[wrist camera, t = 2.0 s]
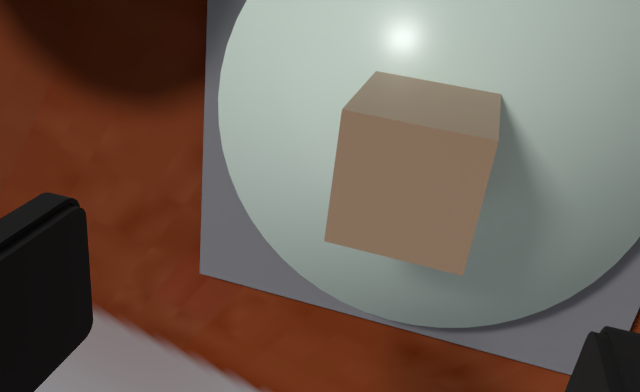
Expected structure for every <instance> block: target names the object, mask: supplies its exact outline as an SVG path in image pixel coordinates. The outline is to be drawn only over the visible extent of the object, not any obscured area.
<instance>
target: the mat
mask: <svg viewBox="0 0 640 392" xmlns="http://www.w3.org/2000/svg"><path fill="white" fill-rule="evenodd" d="M246 1H247V0H207V35H206V70H205V105H204V140H203V176H202V211H201V246H200V274H204V275H207V276H211V277H215V278H218V279H222V280H226V281H229V282H233V283H237V284H240V285H244V286H248V287H251V288H255V289H259V290H262V291H266V292H269V293H273V294H277V295H280V296H284V297H288V298H291V299H295V300H299V301H302V302H306V303H310V304H313V305H317V306H321V307H324V308H328V309H331V310H335V311H339V312H342V313H346V314H350V315H353V316H357V317H361V318H364V319H368V320H372V321H375V322H379V323H383V324H386V325H390V326H393V327H397V328H401V329H404V330H408V331H412V332H415V333H419V334H423V335H426V336H430V337H434V338H437V339H441V340H445V341H448V342H452V343H455V344H459V345H463V346H466V347H470V348H474V349H477V350H481V351H485V352H488V353H492V354H496V355H499V356H503V357H507V358H510V359H514V360H517V361H521V362H525V363H528V364H532V365H536V366H539V367H543V368H547V369H550V370H554V371H558V372H561V373H565V374H569V375H572V372H573V370H574V367H575V365H576V362H577V360H578V357H579V355H580V352H581V350H582V347H583V345H584V342H585V340H586V338H587V335H588V334H589V333H590V332H591V331H593V332H597V333H600V331H601V330H602V329H603V327H605V326H610V327H614V328H618V329H622V330H627V331H629V330H630V328H631V326H632V324H633V321H634V319H635V317H636V314H637V312H638V310H639V308H640V237H639V238H638V240H637V241H636V242H635V244H634V245H633V246H632V247H631V248H630V249H629V250H628V251H627V252H626V253H625V254H624V255H623V257H622V258H621V259H620V260H619V261H618V262H617V263H616V264H615V265H614V266H613V267H611V268H610V269H609V270H608V271H607V272H605V273H604V274H603V275H602V276H601V277H600V278H598V279H597V280H596V281H595V282H594V283H592V284H590V285H589V286H587V287H586V288H584V289H583V290H581V291H580V292H578V293H576V294H575V295H573V296H572V297H570V298H568V299H566V300H564V301H562V302H560V303H558V304H556V305H554V306H552V307H550V308H548V309H546V310H543V311H540V312H537V313H534V314H531V315H529V316H526V317H523V318H520V319H516V320H512V321H507V322H503V323H498V324H494V325H486V326H477V327H468V328H436V327H427V326H418V325H411V324H406V323H402V322H397V321H392V320H388V319H385V318H382V317H379V316H376V315H373V314H370V313H366V312H364V311H361V310H359V309H357V308H355V307H352V306H350V305H348V304H346V303H344V302H341V301H340V300H338V299H336V298H334V297H333V296H331V295H329V294H327V293H326V292H324V291H322V290H321V289H319V288H318V287H316V286H315V285H314V284H312V283H311V282H309V281H308V280H307V279H305V278H304V277H303V276H301V275H300V274H299V273H298V272H297V271H295V270H294V269H293V268H292V267H291V266H290V265H289V264H288V263H287V262H286V261H284V260H283V259H282V258H281V257H280V256H279V255H278V253H277V252H276V251H275V250H274V249H273V248H272V247H271V245H270V244H269V243H268V242H267V241H266V240H265V239H264V237H263V236H262V234H261V233H260V231H259V230H258V229H257V227H256V226H255V224H254V223H253V222H252V220H251V219H250V217H249V215H248V213H247V211H246V210H245V208H244V206H243V204H242V202H241V200H240V199H239V197H238V194H237V192H236V189H235V187H234V184H233V182H232V179H231V177H230V175H229V171H228V168H227V164H226V160H225V157H224V153H223V150H222V143H221V136H220V129H219V116H218V94H219V84H220V74H221V68H222V64H223V60H224V55H225V51H226V47H227V44H228V41H229V38H230V36H231V33H232V30H233V28H234V25H235V22H236V20H237V18H238V16H239V14H240V12H241V10H242V8H243V6H244V5H245V3H246Z"/></svg>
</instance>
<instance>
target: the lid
mask: <svg viewBox="0 0 640 392" xmlns="http://www.w3.org/2000/svg"><path fill="white" fill-rule="evenodd" d="M218 116H219V129H220V136H221V143H222V150H223V153H224V157H225V160H226V164H227V168H228V171H229V175H230V177H231V179H232V182H233V184H234V187H235V189H236V192H237V194H238V197H239V199H240V200H241V202H242V204H243V206H244V208H245V210H246V211H247V213H248V215H249V217H250V219H251V220H252V222H253V223H254V224H255V226H256V227H257V229H258V230H259V231H260V233H261V234H262V236H263V237H264V239H265V240H266V241H267V242H268V243H269V244H270V245H271V247H272V248H273V249H274V250H275V251H276V252H277V253H278V255H279V256H280V257H281V258H282V259H283V260H284V261H286V262H287V263H288V264H289V265H290V266H291V267H292V268H293V269H294V270H295V271H297V272H298V273H299V274H300V275H301V276H303V277H304V278H305V279H307V280H308V281H309V282H311V283H312V284H314V285H315V286H316V287H318V288H319V289H321V290H322V291H324V292H326V293H327V294H329V295H331V296H333V297H334V298H336V299H338V300H340V301H341V302H344V303H346V304H348V305H350V306H352V307H355V308H357V309H359V310H361V311H364V312H366V313H370V314H373V315H376V316H379V317H382V318H385V319H388V320H392V321H397V322H402V323H406V324H411V325H418V326H427V327H436V328H468V327H477V326H486V325H494V324H498V323H503V322H507V321H512V320H516V319H520V318H523V317H526V316H529V315H531V314H534V313H537V312H540V311H543V310H546V309H548V308H550V307H552V306H554V305H556V304H558V303H560V302H562V301H564V300H566V299H568V298H570V297H572V296H573V295H575V294H576V293H578V292H580V291H581V290H583V289H584V288H586V287H587V286H589V285H590V284H592V283H594V282H595V281H596V280H597V279H598V278H600V277H601V276H602V275H603V274H604V273H605V272H607V271H608V270H609V269H610V268H611V267H613V266H614V265H615V264H616V263H617V262H618V261H619V260H620V259H621V258H622V257H623V255H624V254H625V253H626V252H627V251H628V250H629V249H630V248H631V247H632V246H633V245H634V244H635V242H636V241H637V240H638V238H639V237H640V0H247V1H246V3H245V5H244V6H243V8H242V10H241V12H240V14H239V16H238V18H237V20H236V22H235V25H234V28H233V30H232V33H231V36H230V38H229V41H228V44H227V47H226V51H225V55H224V60H223V64H222V68H221V74H220V84H219V94H218Z"/></svg>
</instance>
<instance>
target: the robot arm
mask: <svg viewBox="0 0 640 392" xmlns="http://www.w3.org/2000/svg"><path fill="white" fill-rule="evenodd" d="M92 324H93V311H92V296H91V282H90V267H89V252H88V237H87V222H86V213H85V211H84V209H82V208H80V205H79V203H78V201H77V200H75V199H74V198H70V197H65V196H61V195H57V194H53V193H46V192H45V193H43V194H40V195H39V196H37V197H36V198H34V199H32V200H31V201H29V202H27V203H26V204H24V205H22V206H21V207H19V208H17V209H16V210H14V211H12V212H11V213H9V214H7V215H6V216H4V217H2V218H1V219H0V392H34V391H35V390H36V389H37V388H38V387H39V386H40V385H41V384H42V383H43V382H44V381H45V380H46V379H47V378H48V377H49V375H50V374H51V373H52V372H53V371H54V370H55V369H56V368H57V367H58V366H59V365H60V364H61V363H62V362H63V361H64V360H65V359H66V358H67V357H68V356H69V355H70V354H71V353H72V352H73V351H74V350H75V349H76V348H77V346H79V345H80V343H82V341H83V340H84V339H85V338H86V337H87V336H88V334H89V332H90V330H91V327H92ZM565 392H640V334H639V333H635V332H631V331H627V330H622V329H618V328H614V327H610V326H605V327H603V329H602V330H601V331H600V333H597V332H593V331H591V332H590V333H589V334H588V335H587V338H586V340H585V342H584V345H583V347H582V350H581V352H580V355H579V357H578V360H577V362H576V365H575V367H574V370H573V372H572V375H571V377H570V380H569V382H568V385H567V388H566V390H565Z"/></svg>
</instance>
